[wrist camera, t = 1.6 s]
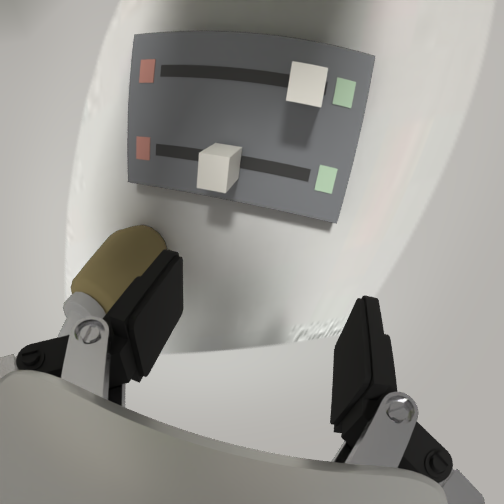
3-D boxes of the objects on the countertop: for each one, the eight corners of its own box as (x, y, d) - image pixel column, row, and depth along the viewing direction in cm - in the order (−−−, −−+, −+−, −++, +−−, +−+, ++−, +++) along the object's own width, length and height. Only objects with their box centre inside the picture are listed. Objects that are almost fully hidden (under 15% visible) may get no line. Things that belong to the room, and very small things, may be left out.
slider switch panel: (144, 36, 23) (133, 34, 21) (371, 58, 21) (375, 55, 19) (137, 176, 32) (127, 182, 30) (335, 215, 29) (336, 224, 28)
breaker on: (296, 65, 21) (292, 61, 18) (326, 71, 21) (328, 67, 17) (290, 98, 22) (285, 100, 19) (320, 104, 22) (321, 107, 19)
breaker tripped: (215, 142, 26) (199, 152, 22) (242, 147, 26) (229, 157, 22) (212, 173, 27) (196, 187, 24) (238, 178, 27) (225, 193, 24)
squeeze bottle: (111, 239, 37) (23, 328, 22) (141, 203, 34) (35, 297, 19) (153, 281, 40) (81, 383, 25) (188, 251, 36) (108, 367, 21)
